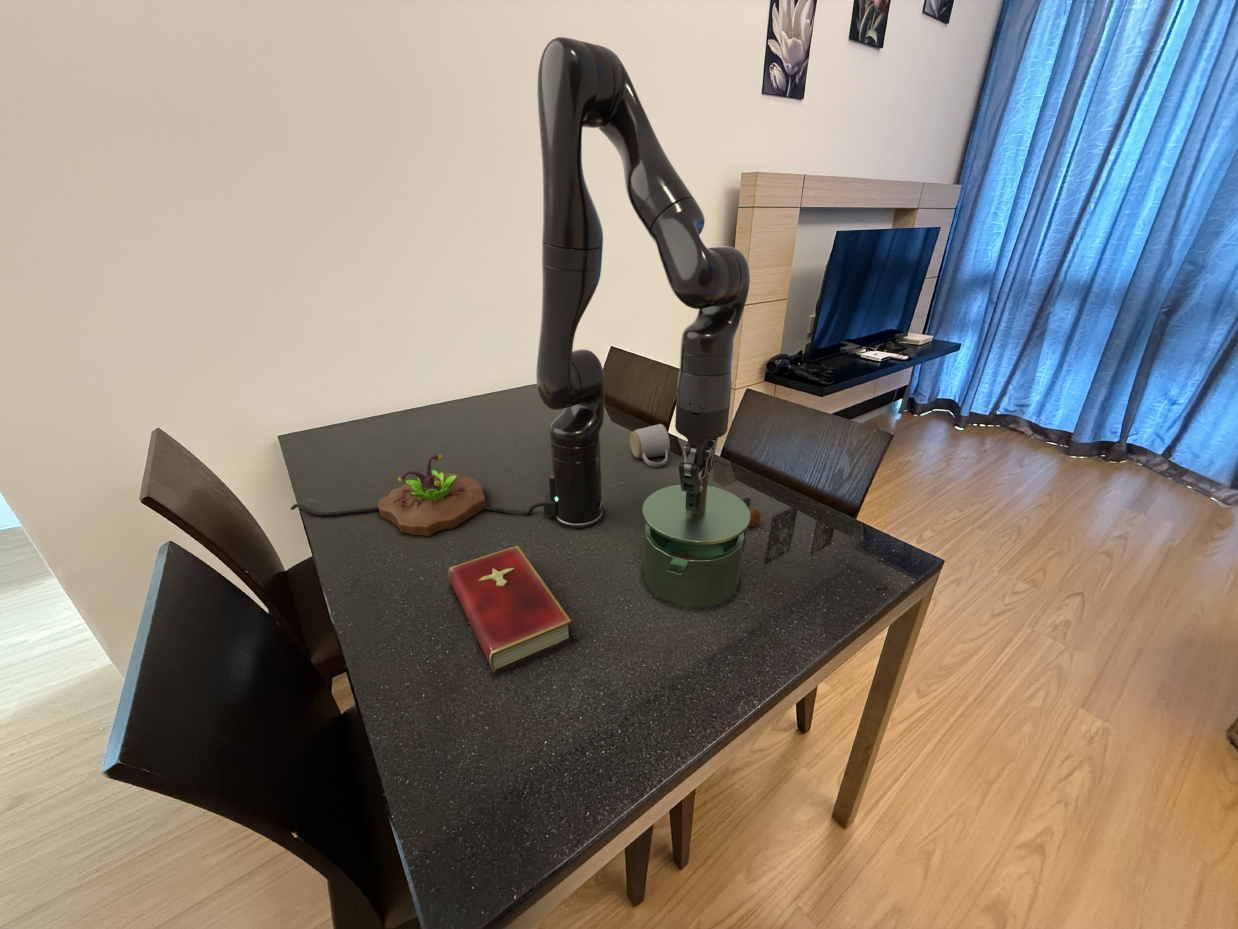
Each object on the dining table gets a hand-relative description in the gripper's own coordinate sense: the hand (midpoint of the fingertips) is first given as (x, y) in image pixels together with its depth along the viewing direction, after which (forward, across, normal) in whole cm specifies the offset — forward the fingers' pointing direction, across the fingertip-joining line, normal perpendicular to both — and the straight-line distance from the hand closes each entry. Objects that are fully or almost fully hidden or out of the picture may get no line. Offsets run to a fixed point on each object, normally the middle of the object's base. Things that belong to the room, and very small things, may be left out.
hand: (695, 503), depth 82 cm
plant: (+15, -2, -55) cm, 57 cm away
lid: (+2, 0, 0) cm, 2 cm away
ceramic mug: (+15, -40, -21) cm, 47 cm away
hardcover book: (+15, +19, -24) cm, 34 cm away
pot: (+15, 0, 0) cm, 15 cm away
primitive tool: (+15, -24, -1) cm, 28 cm away
